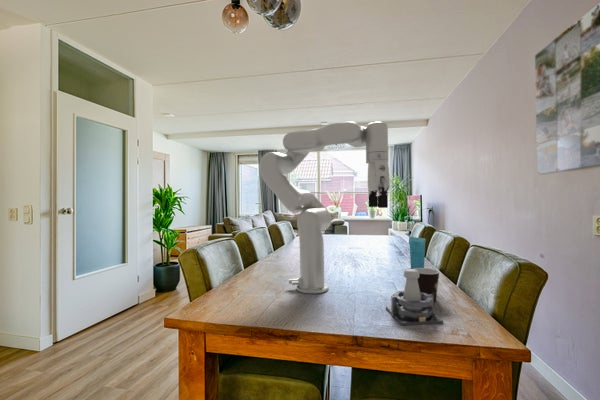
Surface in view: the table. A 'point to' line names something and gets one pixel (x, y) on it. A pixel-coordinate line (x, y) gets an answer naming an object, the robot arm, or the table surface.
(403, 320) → the collar stand
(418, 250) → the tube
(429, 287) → the coffee mug
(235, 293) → the table surface
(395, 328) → the table surface
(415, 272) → the salt shaker
